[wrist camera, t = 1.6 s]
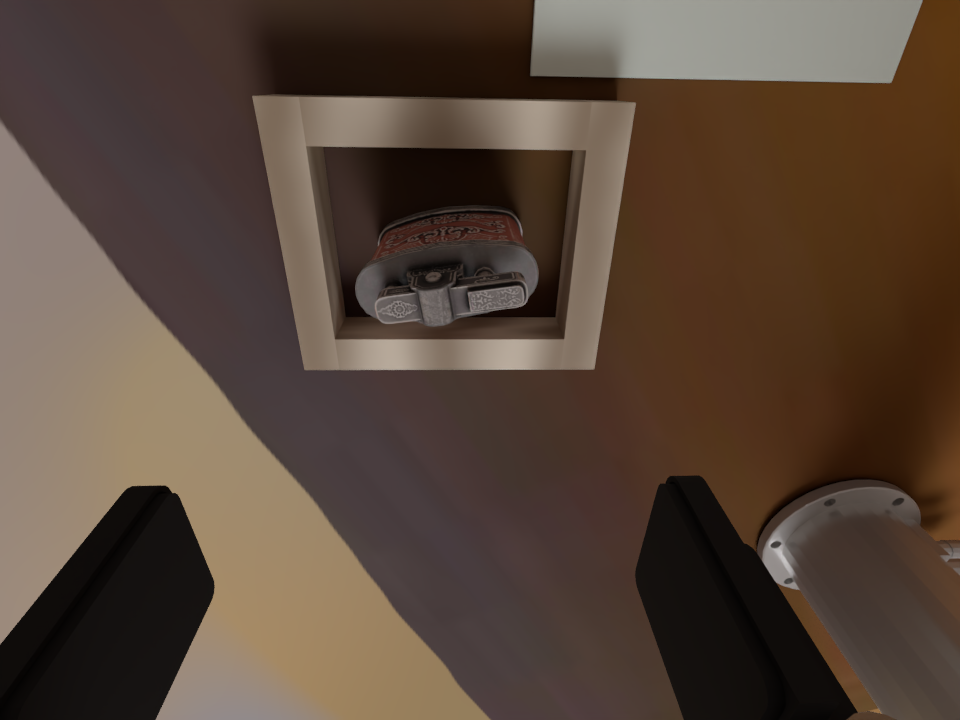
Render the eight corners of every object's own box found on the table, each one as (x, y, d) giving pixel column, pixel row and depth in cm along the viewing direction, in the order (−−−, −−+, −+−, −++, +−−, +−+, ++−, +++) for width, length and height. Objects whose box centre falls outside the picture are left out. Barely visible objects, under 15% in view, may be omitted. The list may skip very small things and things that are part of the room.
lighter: (387, 274, 29) (354, 358, 20) (374, 216, 27) (332, 280, 18) (523, 256, 28) (550, 333, 20) (517, 196, 27) (545, 252, 18)
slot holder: (617, 100, 24) (635, 102, 22) (583, 345, 31) (594, 369, 29) (275, 94, 24) (252, 95, 21) (317, 345, 31) (304, 369, 28)
